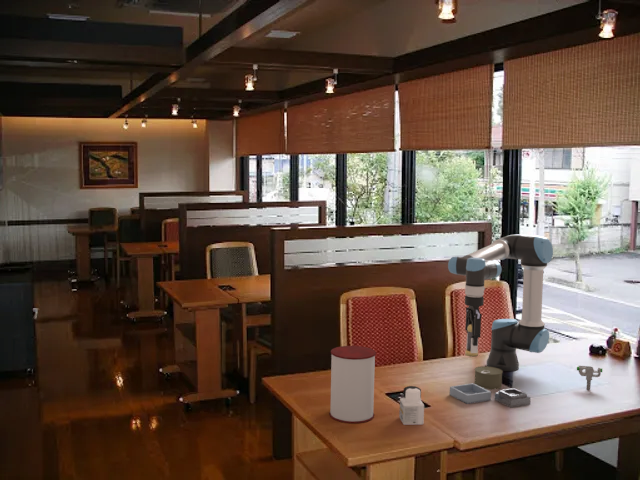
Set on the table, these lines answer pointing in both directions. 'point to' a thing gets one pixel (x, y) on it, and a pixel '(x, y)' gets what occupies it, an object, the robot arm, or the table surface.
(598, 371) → the mechanical component
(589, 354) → the table surface
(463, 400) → the tray
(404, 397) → the container
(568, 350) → the table surface
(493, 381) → the can
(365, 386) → the container
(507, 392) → the recessed square block
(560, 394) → the table surface
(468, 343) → the strut
